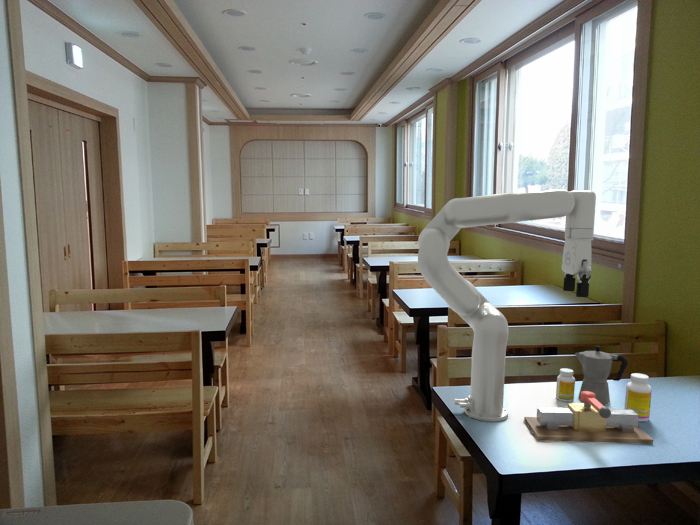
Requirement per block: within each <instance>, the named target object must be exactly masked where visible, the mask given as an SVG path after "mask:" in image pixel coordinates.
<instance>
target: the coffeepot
mask: <svg viewBox="0 0 700 525" xmlns="http://www.w3.org/2000/svg"><path fill="white" fill-rule="evenodd" d="M594 349H595V350H585V351H580V352H579V351H577V352H575V353H574V356H576V358H577V359H578V361H579V362H580V365H581V367H582V374H583V379H582V382H581V386H580V389H579V393H578V400H579V401H581V392H582V391H589V392H593V393H595V399H597V400H598V401H599V402H600V403H601V404H602V405H604V406H608V405H609V404H610V402H611V398H610V388H609V383H608V377H610V374H611V369H612V365H613V362H621V364H620V367H619V370H618V371H617V374H616V376H615V377H611V379H612V381H614V382H619V381H620V380H621V379H622V377H623V375H624V373H625V370H626V368H627V367H628V365H629V362H628V360H627V358H626V357H625V356H624V355H621V354H619V355H618V354H610V353H608V352H604V351H601V346H600V345H595V346H594ZM608 403H609V404H608Z"/></svg>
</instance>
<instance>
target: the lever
mask: <svg viewBox="0 0 700 525" xmlns="http://www.w3.org/2000/svg"><path fill="white" fill-rule="evenodd" d="M580 401H581V402H582V401H583V402H582V403H584V407H587V408H590V407H591V406H593V407H594V408H595V409H596V410H597V411H598V412H599V414H600V416H601V417H602V418H609V417H610V416H611V411H610V409H611V408H608V407H606V406H605V405H604V406H603V405H602V404H601V403H600V402H599V401H598V400H597V399H595V393H593V392H589V391H582V392H581V400H580Z"/></svg>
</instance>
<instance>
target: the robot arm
mask: <svg viewBox="0 0 700 525" xmlns="http://www.w3.org/2000/svg"><path fill="white" fill-rule="evenodd" d="M596 197H597V196H596V192H594V191H592V190H571V191H568V190H566V189H563V188H561V189H559V188H557V189H547V190H544V191H535V192H526V193H525V192H524V193H523V192H521V193H518V192H517V193H514V192H513V193H512V192H506V193H505V192H503V193H494V194H488V195H486V194H485V195H479V196H471V197H470V196H469V197H456V198H452V199H450V200H448V201H447V203H445V204H444V206H443V207H442V208H441V209H440V210H439V211H438V213H437V214H436V215H435V216H434V217H433V218H432V219H431V220H430V222H429V223H427V225H426V226H425V227H424V228H423V229H422V231H421V232H420V233H419V236H418V240H417V245H418V247H419V248H418V254H417V265H418V270H419V271H420V274H421V276H422V277H423V278H424V280H425V281H426V283H428V285H429V286H430V287H431V288H432V289H433V290H434V291H435V292H436V293H437V294H438V296H439V297H440V298H441V299H443V301H444V302H446V304H447V305H448V307H449V308H450V309H451V310H452V311H453V312H454V313H456V314H458V316H459V317H460V318H461V319H462V320H463V321H464V322H465V323H466V324H467V325H469V327H470V328H471V329H472V330H473V342H472V350H471V368H470V369H471V370H470V371H471V372H470V394H468V395H467V397H464V398H453V405H454V406H459V408H460V409H461V408H463V409H464V413H465V415H466V416H468V417H470V419H471V418H472V419H473V420H474V419H475V420H477V421H482V422H490V423H491V422H493V423H494V422H501V421H504V420H506V419H507V418H508V417H509V411H508V410H507V408H505V407H504V394H505V393H504V392H505V390H504V389H505V373H506V352H507V343H508V338H509V324H508V320H507V318H506V316H504V314H503V313H502V312H501V311H500V310H498V308H496V307H495V306H494V305H493V304H492V303H491V302H490V301H489V300H488V299H487V298H486V297H485V296H484V295H483V294H482V293H481V292H480V291H479V290H478V289H477V287H476V286H474V284H473V283H472V282H470V281H469V280H467V279H465V278H464V277H463V275H462V274H460V273H459V272H458V270H457V269H456V268H455V267H454V266H453V265H452V264H451V262H450V261H449V259H448V258H449V257H448V253H449V251H450V250H449V249H450V246H451V243H450V242H451V241H452V240H453V239H454V237H455V236H456V235H457V234H458V233H459V231H461V229H466V228H473V227H474V228H475V227H482V226H491V225H499V224H500V225H501V224H502V225H503V224H512V223H521V222H526V221H537V220H538V221H539V220H547V219H548V220H549V219H557V218H558V219H559V218H562V217H565V227H564V245H563V253H562V259H561V260H562V262H561V271H562V272H564V273H563V287H562V288H563V289H562V290H563V291H564V292H575V296H576V297H577V298H588V297H589V295H590V294H589V291H590V282H591V276H592V275H591V274H592V271H593V270H592V241H594V234H595V232H594V231H595V217H596V216H595V215H596V204H597V203H596V200H597V198H596ZM575 276H576V277H577V282H576V277H575ZM575 289H576V290H575Z"/></svg>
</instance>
